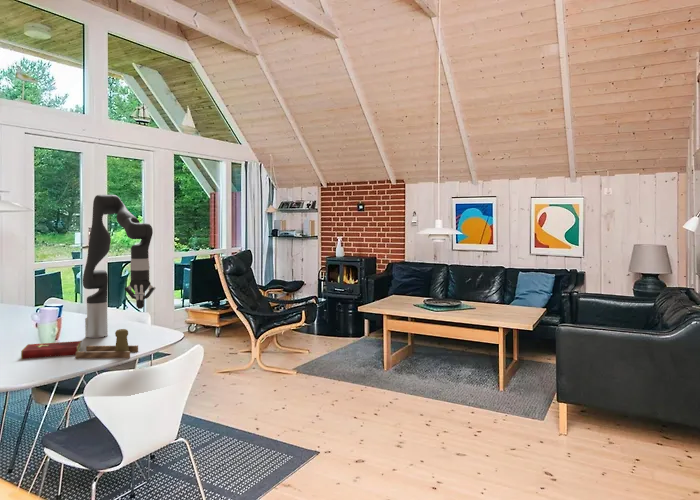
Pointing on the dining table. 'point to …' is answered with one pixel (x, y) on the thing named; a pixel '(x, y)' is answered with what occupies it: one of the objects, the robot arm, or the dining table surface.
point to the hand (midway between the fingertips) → (140, 308)
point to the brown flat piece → (105, 352)
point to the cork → (121, 340)
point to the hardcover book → (50, 349)
